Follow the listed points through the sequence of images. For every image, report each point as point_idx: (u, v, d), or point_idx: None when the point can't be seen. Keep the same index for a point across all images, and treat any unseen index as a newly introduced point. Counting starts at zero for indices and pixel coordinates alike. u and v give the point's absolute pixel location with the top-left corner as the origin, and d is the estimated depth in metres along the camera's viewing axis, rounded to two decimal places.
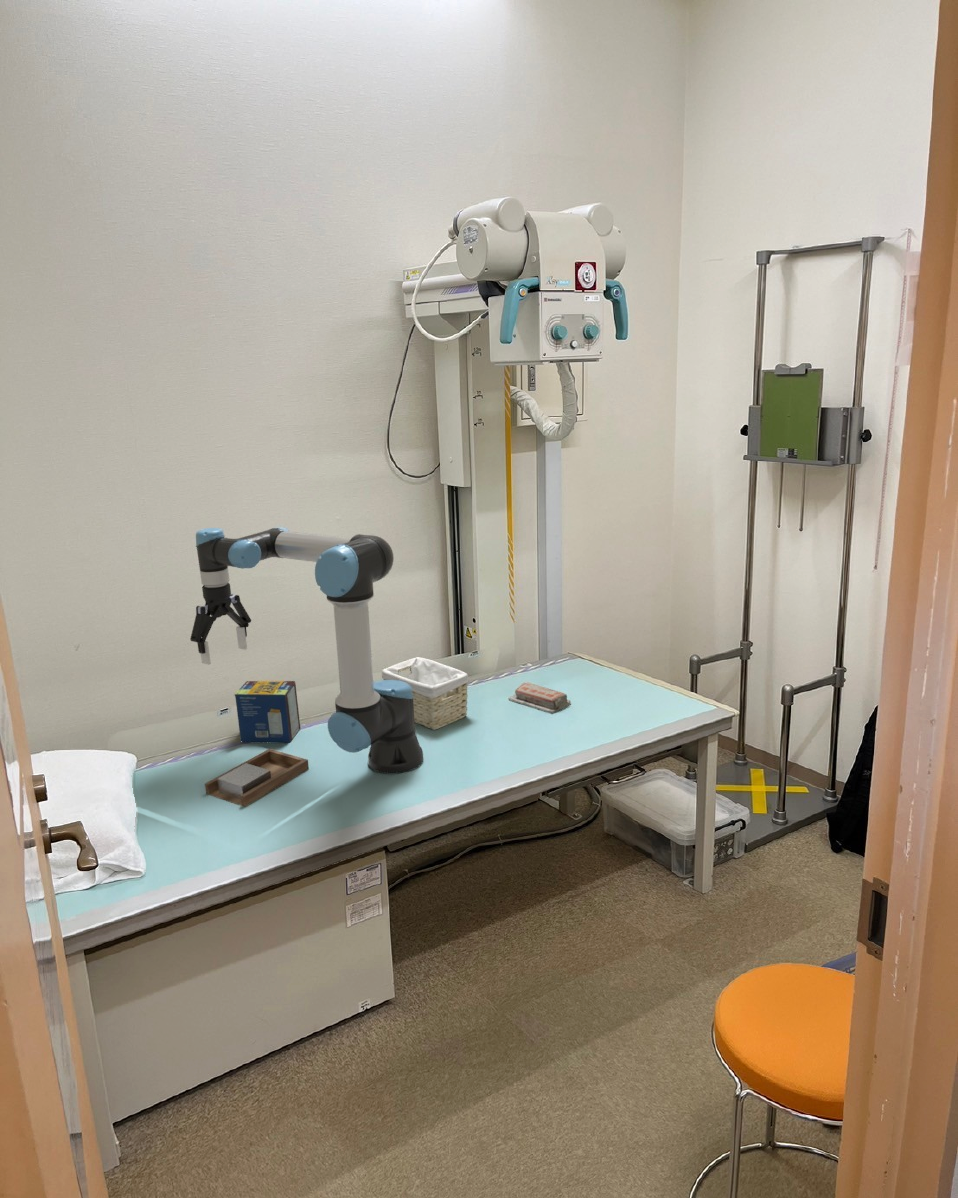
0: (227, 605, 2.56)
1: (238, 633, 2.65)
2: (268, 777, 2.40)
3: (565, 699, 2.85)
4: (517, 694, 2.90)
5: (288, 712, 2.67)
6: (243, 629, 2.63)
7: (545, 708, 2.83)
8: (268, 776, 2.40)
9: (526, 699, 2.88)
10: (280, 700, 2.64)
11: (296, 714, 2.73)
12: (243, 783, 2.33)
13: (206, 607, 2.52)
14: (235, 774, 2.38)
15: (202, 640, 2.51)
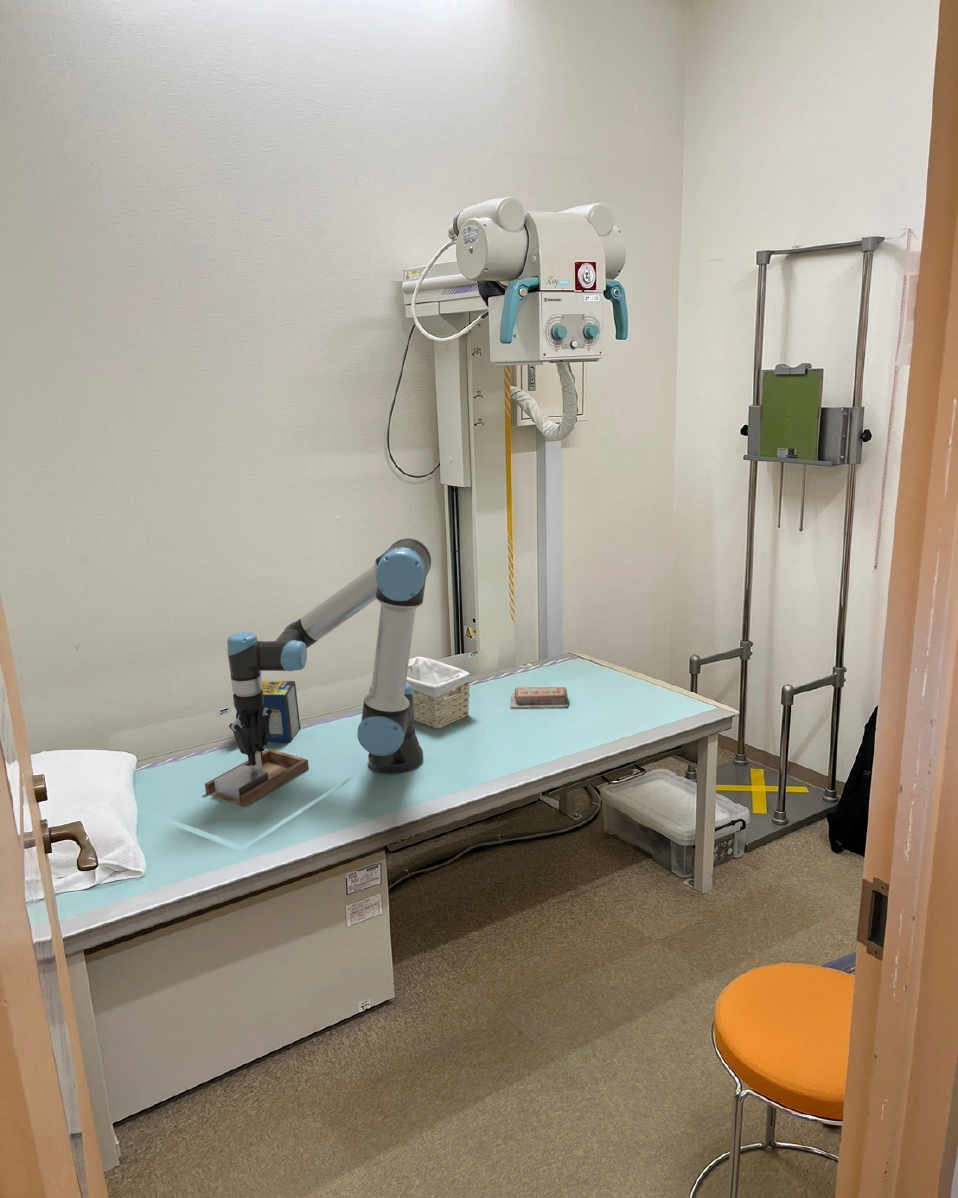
0: (259, 714, 2.38)
1: None
2: (265, 779, 2.39)
3: None
4: (520, 700, 2.86)
5: (288, 712, 2.67)
6: (259, 754, 2.41)
7: (557, 705, 2.85)
8: (265, 778, 2.39)
9: (531, 702, 2.86)
10: (280, 700, 2.64)
11: (296, 714, 2.73)
12: (240, 785, 2.33)
13: (238, 721, 2.34)
14: (232, 776, 2.38)
15: (253, 753, 2.39)
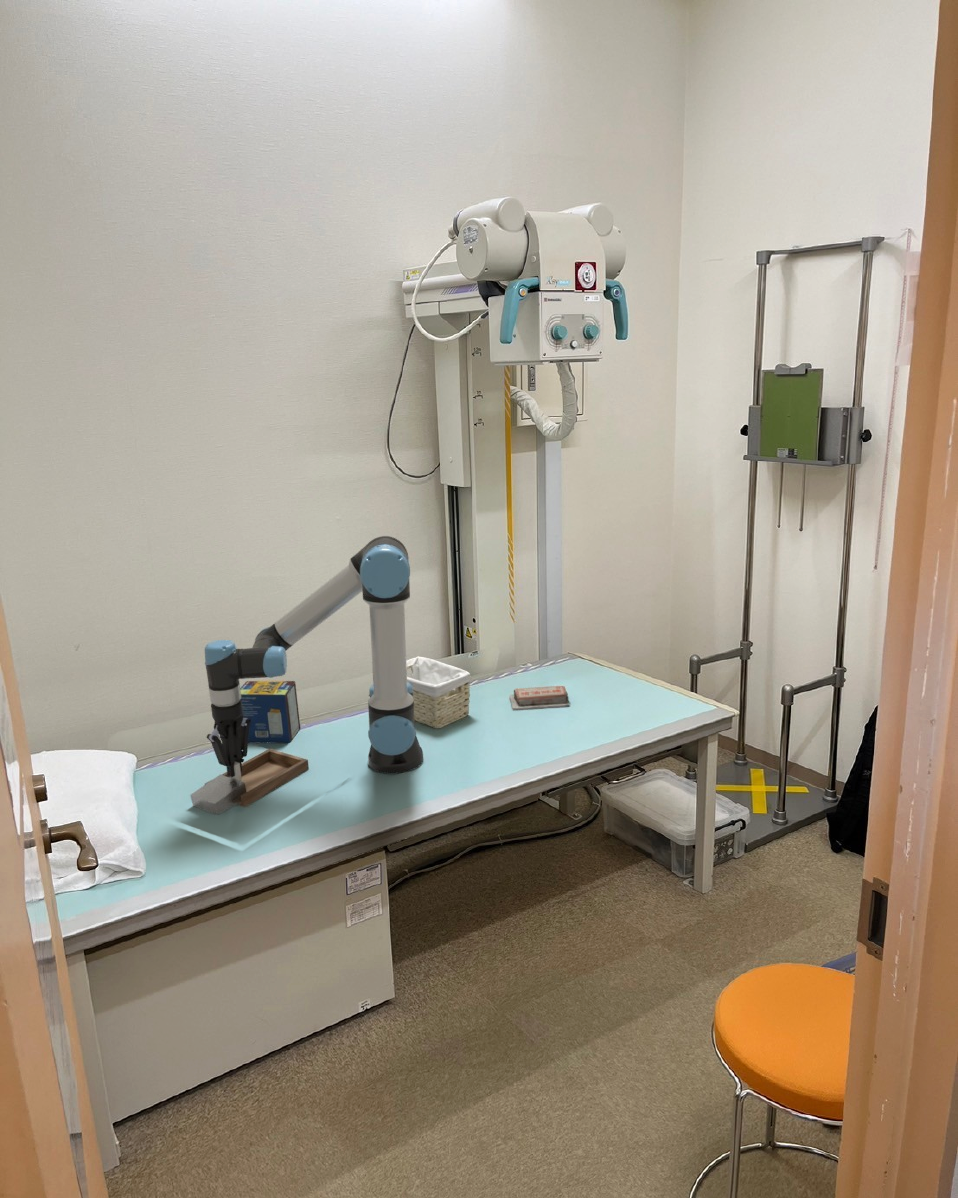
0: (238, 724, 2.32)
1: None
2: (243, 789, 2.33)
3: None
4: (521, 701, 2.85)
5: (288, 712, 2.67)
6: (238, 765, 2.35)
7: (559, 704, 2.86)
8: (242, 788, 2.33)
9: (533, 702, 2.85)
10: (280, 700, 2.64)
11: (296, 714, 2.73)
12: (216, 800, 2.27)
13: (216, 732, 2.28)
14: (208, 789, 2.32)
15: (231, 764, 2.33)
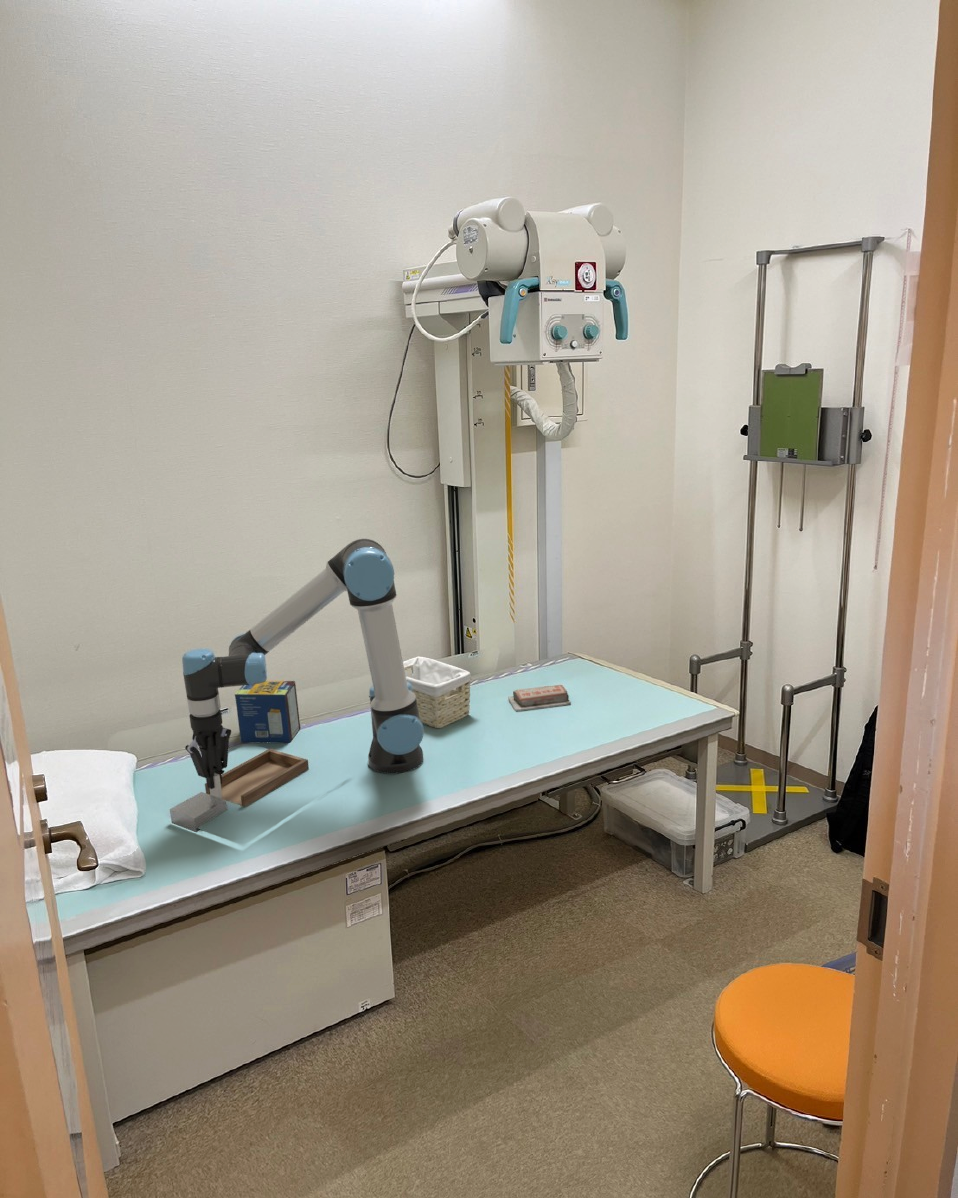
0: (218, 735, 2.27)
1: None
2: (224, 807, 2.28)
3: None
4: (524, 702, 2.84)
5: (288, 712, 2.67)
6: (218, 776, 2.29)
7: (560, 703, 2.86)
8: (223, 806, 2.28)
9: (535, 703, 2.85)
10: (280, 700, 2.64)
11: (296, 714, 2.73)
12: (196, 815, 2.22)
13: (195, 743, 2.23)
14: (189, 805, 2.27)
15: (211, 776, 2.28)
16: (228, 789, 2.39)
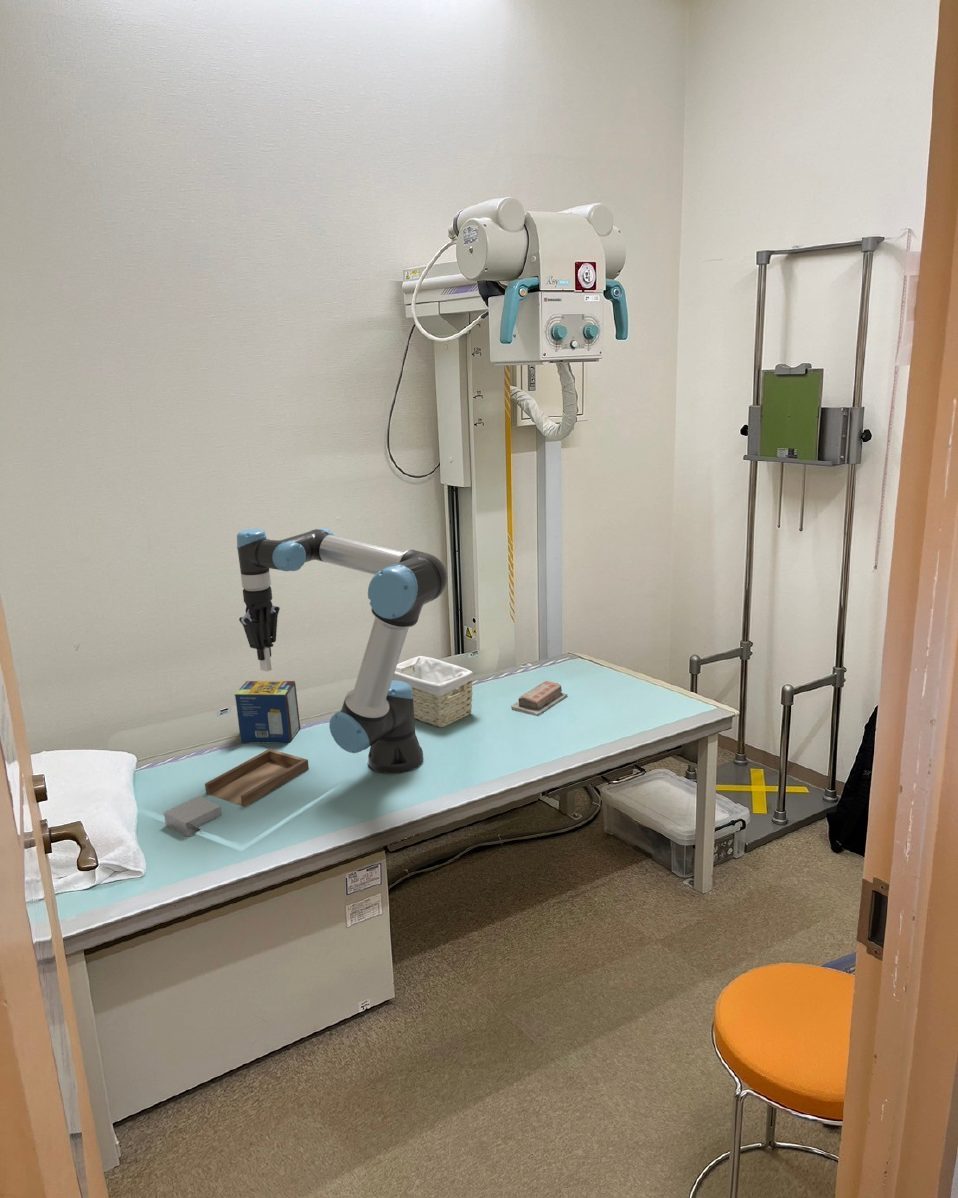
0: (268, 610, 2.47)
1: None
2: (218, 813, 2.26)
3: None
4: (539, 704, 2.82)
5: (288, 712, 2.67)
6: (268, 649, 2.50)
7: (560, 697, 2.91)
8: (217, 812, 2.26)
9: (546, 703, 2.85)
10: (280, 700, 2.64)
11: (296, 714, 2.73)
12: (188, 820, 2.20)
13: (248, 615, 2.43)
14: (183, 809, 2.25)
15: (262, 647, 2.48)
16: (228, 789, 2.39)
